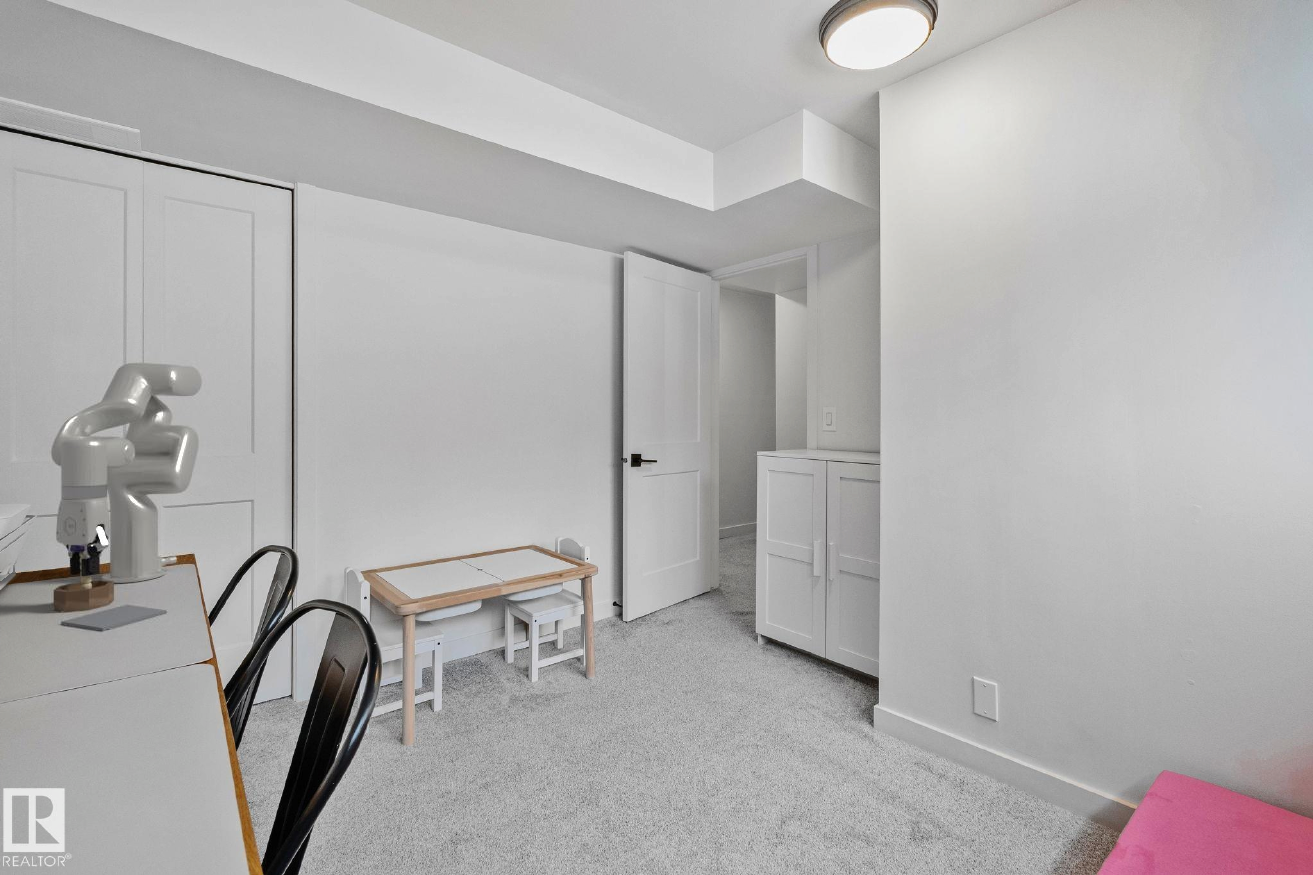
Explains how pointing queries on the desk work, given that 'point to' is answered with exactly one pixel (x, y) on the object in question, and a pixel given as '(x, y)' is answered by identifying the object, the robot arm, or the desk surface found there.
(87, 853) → the desk surface
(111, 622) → the mat
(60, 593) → the holder ring
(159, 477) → the robot arm
